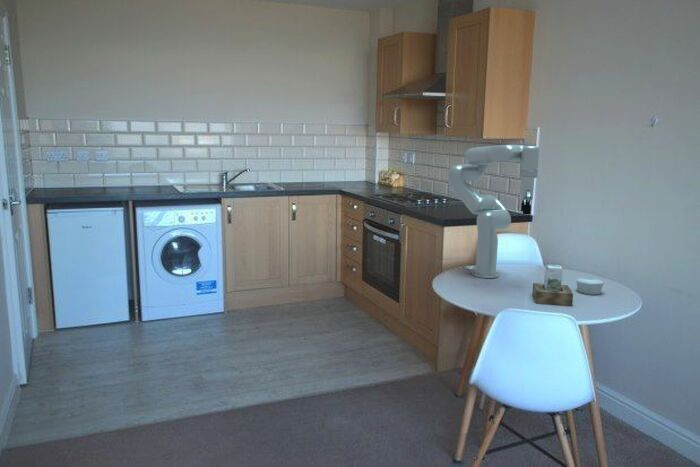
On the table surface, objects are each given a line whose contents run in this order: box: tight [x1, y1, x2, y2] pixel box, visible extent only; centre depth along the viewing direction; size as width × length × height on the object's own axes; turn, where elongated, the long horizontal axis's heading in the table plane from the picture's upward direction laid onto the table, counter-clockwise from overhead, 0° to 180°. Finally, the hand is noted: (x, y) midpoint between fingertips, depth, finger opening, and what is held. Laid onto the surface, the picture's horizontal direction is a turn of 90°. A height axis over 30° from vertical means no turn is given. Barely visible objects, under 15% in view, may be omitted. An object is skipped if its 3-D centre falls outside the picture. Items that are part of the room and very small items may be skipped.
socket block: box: [532, 282, 574, 307], centre depth 243 cm, size 14×14×5 cm
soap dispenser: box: [543, 264, 563, 291], centre depth 242 cm, size 6×6×14 cm
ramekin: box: [575, 277, 604, 296], centre depth 257 cm, size 11×11×5 cm
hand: (525, 212), depth 260 cm, fingers open, 9 cm apart
